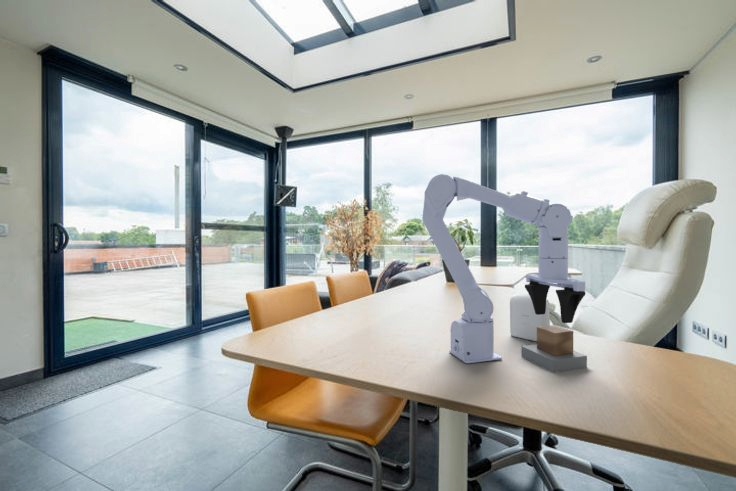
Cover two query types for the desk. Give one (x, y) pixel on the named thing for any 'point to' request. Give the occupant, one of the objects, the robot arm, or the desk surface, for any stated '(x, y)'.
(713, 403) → the desk surface
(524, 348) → the base slab
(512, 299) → the photo printer
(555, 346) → the walnut cube
